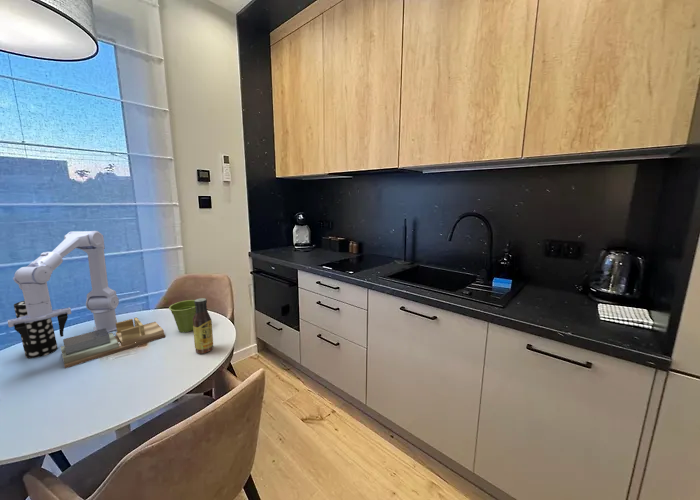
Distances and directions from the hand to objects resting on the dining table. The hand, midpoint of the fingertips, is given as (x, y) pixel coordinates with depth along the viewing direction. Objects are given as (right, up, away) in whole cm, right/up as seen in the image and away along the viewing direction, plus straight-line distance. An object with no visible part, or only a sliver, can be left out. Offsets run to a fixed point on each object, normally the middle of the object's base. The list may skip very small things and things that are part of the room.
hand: (46, 339), depth 99 cm
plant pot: (+33, -4, +28) cm, 43 cm away
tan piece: (+12, -7, +15) cm, 20 cm away
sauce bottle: (+49, -7, +11) cm, 51 cm away
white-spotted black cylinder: (-12, -8, +10) cm, 18 cm away
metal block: (+6, -4, +9) cm, 12 cm away
